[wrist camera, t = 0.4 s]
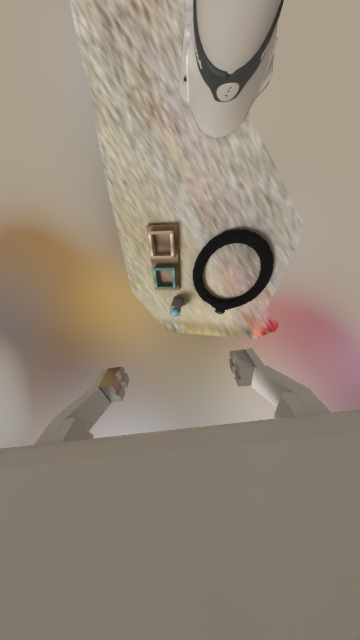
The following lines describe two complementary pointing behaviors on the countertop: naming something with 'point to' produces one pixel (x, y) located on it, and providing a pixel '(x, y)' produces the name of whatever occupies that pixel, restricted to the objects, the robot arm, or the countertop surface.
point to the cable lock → (225, 239)
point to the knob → (176, 306)
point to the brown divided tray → (164, 256)
